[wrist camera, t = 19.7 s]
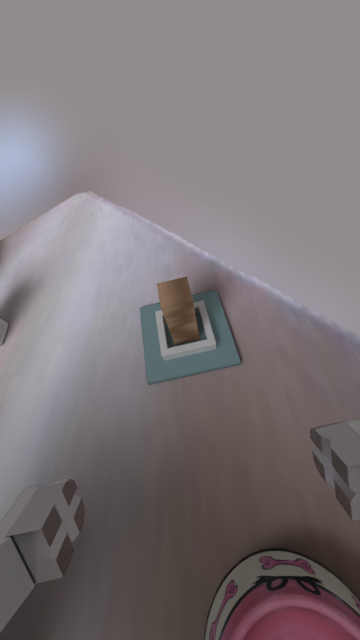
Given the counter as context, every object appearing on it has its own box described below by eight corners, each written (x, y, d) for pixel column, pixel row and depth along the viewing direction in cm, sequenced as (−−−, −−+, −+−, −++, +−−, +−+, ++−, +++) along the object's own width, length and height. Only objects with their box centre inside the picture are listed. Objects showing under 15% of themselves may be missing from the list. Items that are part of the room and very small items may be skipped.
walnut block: (175, 345, 42) (160, 307, 32) (171, 324, 45) (156, 283, 34) (199, 339, 42) (192, 300, 32) (194, 319, 44) (186, 276, 34)
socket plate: (149, 384, 40) (144, 379, 37) (141, 310, 49) (136, 301, 46) (240, 364, 40) (241, 357, 37) (216, 292, 48) (216, 283, 46)
